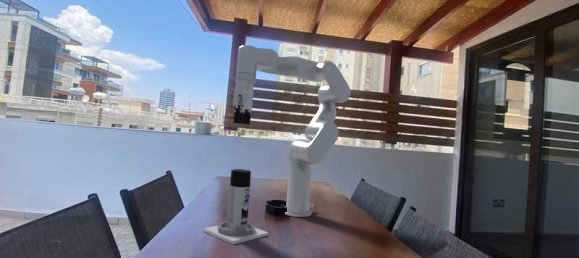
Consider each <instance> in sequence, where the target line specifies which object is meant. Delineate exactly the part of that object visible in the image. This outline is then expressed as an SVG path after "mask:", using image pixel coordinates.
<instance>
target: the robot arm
mask: <svg viewBox="0 0 579 258" xmlns="http://www.w3.org/2000/svg"><path fill="white" fill-rule="evenodd" d="M236 61H237V62H236V73H235V74H236V75H235V82H236V83H235V87H234V91H233V99H232V107H233V108H234V110H233V112H234V113H233V124H239V125H241V124H243V125H250V124H251V117H252V116H251V115H252V108H253V103H254V101H253V100H254V85H255V84H256V81H257V71H258V72H262V73H265V74H271V75H278V76H283V77H289V78H290V77H291V78H297V79H300V80H306V81H307V82H308V81H309V82H314V83H323V82H326V83H325V84H322V85H321V86H320V87H319V88H318V90H317V98H318V103H319V104H318V109H317V112H316V113H315V115H314V116H313V118H312V119H311V120H310V121H309V123H308V124H307V126H306V128H305V131H304V136H305V138H306V139H296V140H294V141H292V142H291V144H290V145H289V147H288V162H289V164H288V165H289V167H288V168H289V169H288V180H287V189H286V190H287V191H286V192H287V193H286V205H285V208H286V207H287V212H285V214H284V215H286V216H289V217H295V218H307V217H310V216H311V215H312V211H311V210H310V208H314V206H315V203H313V202H310V193H311V192H310V191H311V179H312V167H311V165H313V166H314V165H319V164H321V163H322V162H323V161H324V160H325V159H326V157H327V155H328V154H329V153H330V151H331V150H332V149H333V147H334V146H335V143H336V142H337V141H338V138H339V128H338V126H337V124H336V123H335V120H336V118H337V109H336V104H337V103H338V104H339V103H340V104H343V103H346V102H347V101H348V100H349V99H350V97H351V88H350V85H349V83H348V82H347V81H346V78H345V77H344V76H343V75H344V74H342V72H341V70H340V69H339V67H338V66H337V65H336V64H335V63H334V62H333V61H331V60H323V61H315V60H311V59H307V58H303V57H300V56H279V54H278V52H277V51H276V50H275V49H272V48H265V47H256V46H254V45H251V44H250V45H249V44H243V45H241V46H239V47H238V49H237V60H236ZM335 103H336V104H335Z"/></svg>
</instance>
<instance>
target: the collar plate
mask: <svg viewBox="0 0 579 258" xmlns="http://www.w3.org/2000/svg"><path fill="white" fill-rule="evenodd" d="M203 232H204V233H207V234H208V235H211V236H212V237H215V238H217V239H219V240H222V241H225V242H226V243H228V244H231V245H236V244H241V243H245V242H248V241H251V240H255V239H261V238H264V237H268V236H269V232H267V231H265V230H262V229H260V228H257V227H256V226H255V225H254V224H253V223H250V222H248V221H247V230H244V231H233V230H227V220H226V221H220V222H219V223H218V224H217V225H214V226H211V227H205V228H203Z"/></svg>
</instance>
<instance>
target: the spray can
mask: <svg viewBox="0 0 579 258" xmlns="http://www.w3.org/2000/svg"><path fill="white" fill-rule="evenodd" d="M251 178H252V172H251V170H249V169H241V168H240V169H239V168H236V169H231V170H230V180H229V192H228V208H227V220H226V221H227V230H233V231H244V230H247V222H248V219H249V207H250V206H249V205H250V192H251Z"/></svg>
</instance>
